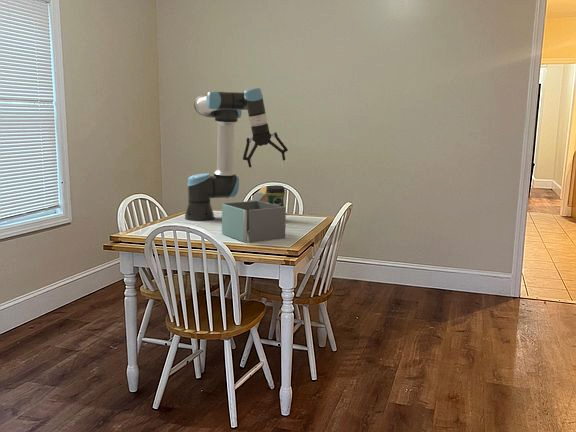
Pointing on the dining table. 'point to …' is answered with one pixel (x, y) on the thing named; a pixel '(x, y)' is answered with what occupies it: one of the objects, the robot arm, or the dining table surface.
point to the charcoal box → (263, 220)
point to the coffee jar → (275, 195)
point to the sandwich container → (261, 195)
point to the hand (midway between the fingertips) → (268, 170)
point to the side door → (234, 222)
